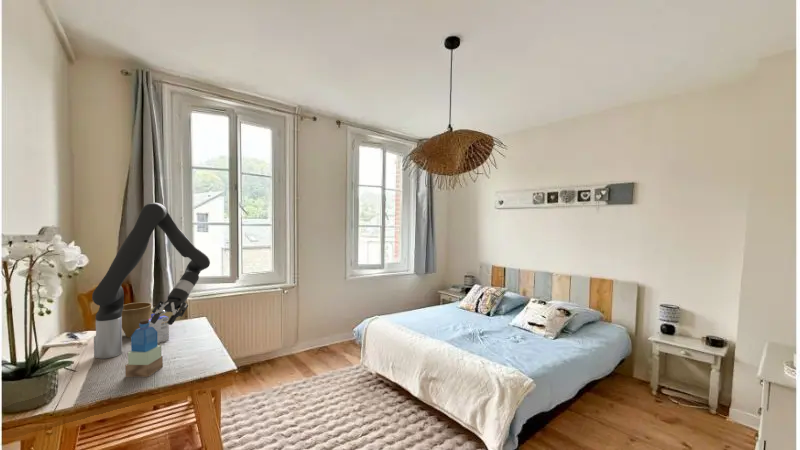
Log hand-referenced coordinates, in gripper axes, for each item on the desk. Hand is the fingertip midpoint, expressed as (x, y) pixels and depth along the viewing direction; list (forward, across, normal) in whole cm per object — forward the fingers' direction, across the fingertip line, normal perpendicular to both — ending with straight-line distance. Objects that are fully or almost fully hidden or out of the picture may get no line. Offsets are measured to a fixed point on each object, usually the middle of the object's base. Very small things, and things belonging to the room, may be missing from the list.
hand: (160, 323), depth 152 cm
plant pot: (-6, -43, +31) cm, 54 cm away
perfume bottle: (+12, 0, 0) cm, 12 cm away
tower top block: (+15, +1, +3) cm, 15 cm away
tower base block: (+19, 0, +7) cm, 20 cm away
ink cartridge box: (-2, -24, +28) cm, 37 cm away
